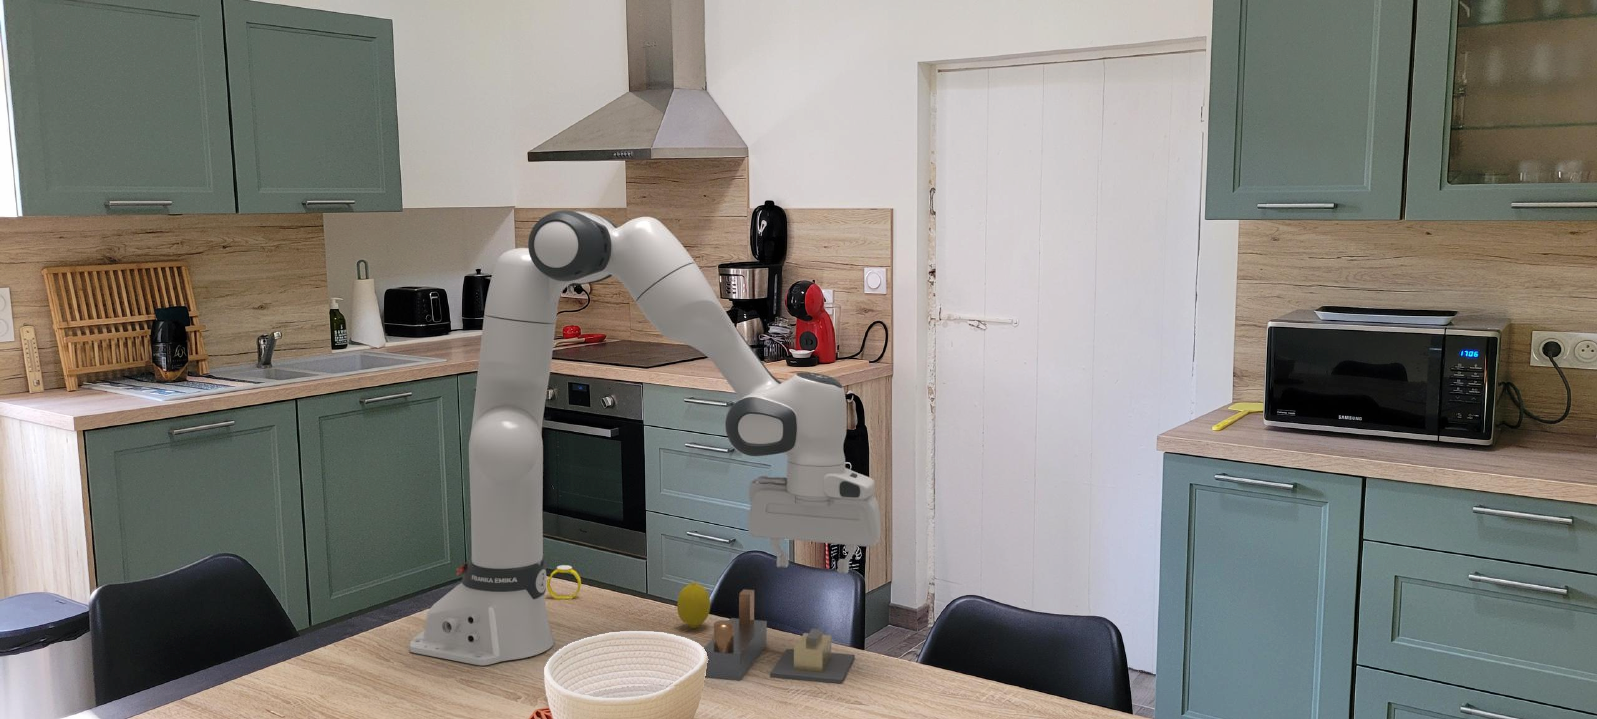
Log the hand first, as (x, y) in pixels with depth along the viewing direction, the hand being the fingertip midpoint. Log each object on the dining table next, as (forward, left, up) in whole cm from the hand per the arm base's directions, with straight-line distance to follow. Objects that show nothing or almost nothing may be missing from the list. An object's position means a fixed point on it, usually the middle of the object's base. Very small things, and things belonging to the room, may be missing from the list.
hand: (812, 569), depth 177 cm
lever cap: (0, 0, -15) cm, 15 cm away
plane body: (-12, 0, -16) cm, 20 cm away
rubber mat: (0, 0, -16) cm, 16 cm away
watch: (-51, +23, -16) cm, 58 cm away
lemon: (-23, +13, -16) cm, 31 cm away
